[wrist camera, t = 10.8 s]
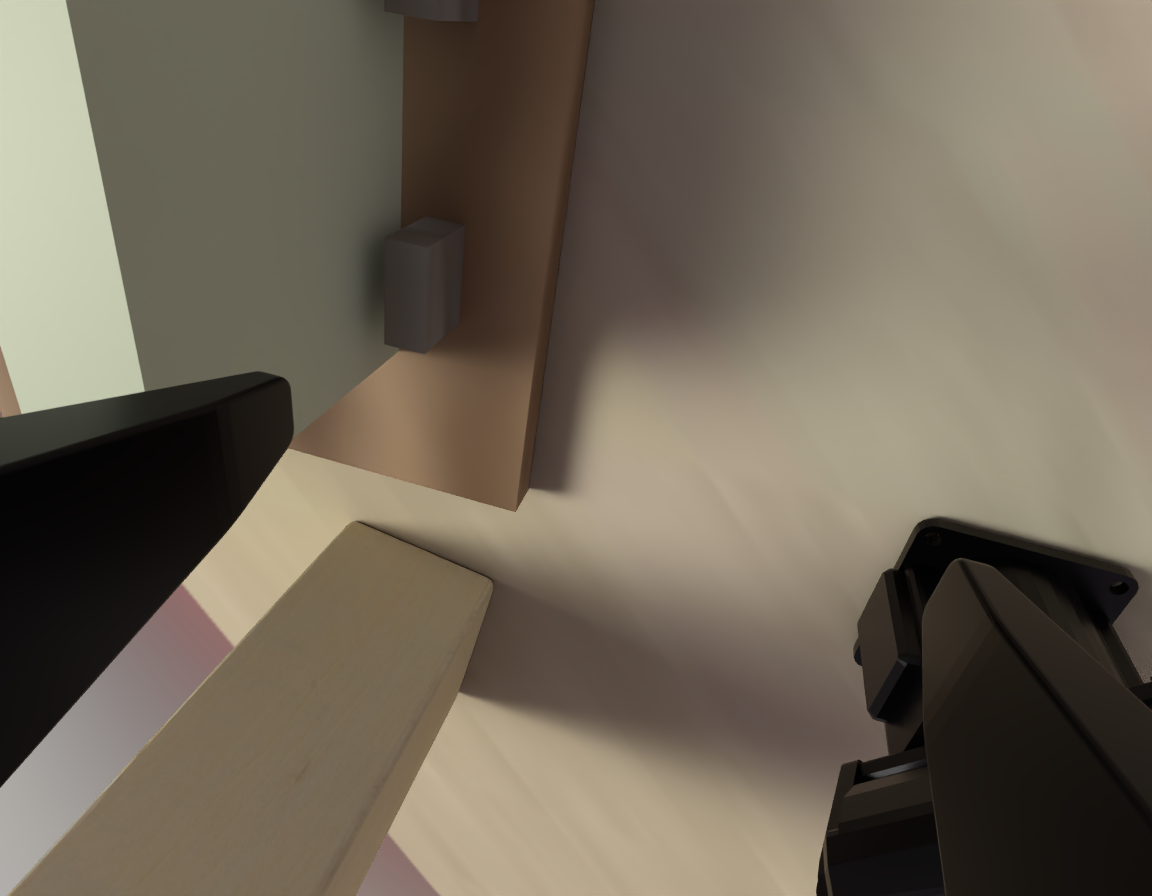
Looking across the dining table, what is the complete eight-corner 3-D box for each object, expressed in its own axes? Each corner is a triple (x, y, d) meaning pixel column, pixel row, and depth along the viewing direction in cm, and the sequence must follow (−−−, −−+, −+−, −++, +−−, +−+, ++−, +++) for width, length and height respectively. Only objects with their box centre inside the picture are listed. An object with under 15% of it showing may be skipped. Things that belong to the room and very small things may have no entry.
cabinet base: (667, -539, 13) (584, -926, 8) (528, 488, 26) (460, 609, 21) (-47, -585, 16) (-493, -912, 10) (147, 383, 28) (-5, 467, 23)
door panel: (407, -238, 15) (-47, -553, 7) (399, 351, 23) (174, 536, 14) (282, -255, 16) (-288, -571, 7) (314, 329, 23) (48, 497, 15)
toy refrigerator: (333, 506, 29) (-353, 1224, 12) (498, 576, 29) (45, 1429, 11) (315, 631, 34) (-203, 1291, 16) (458, 693, 33) (87, 1440, 16)
